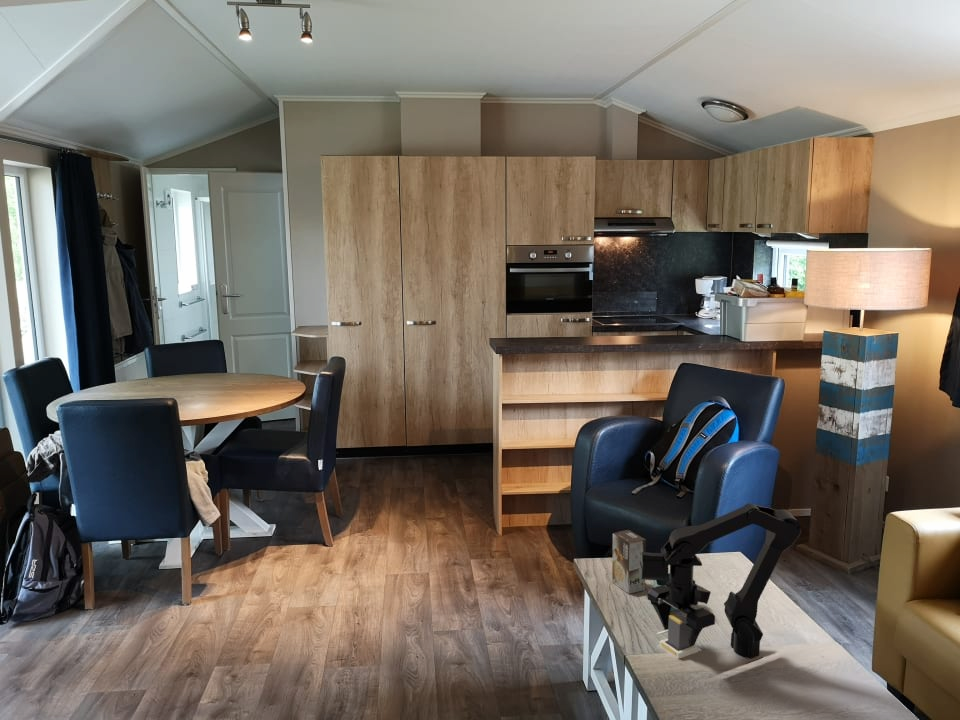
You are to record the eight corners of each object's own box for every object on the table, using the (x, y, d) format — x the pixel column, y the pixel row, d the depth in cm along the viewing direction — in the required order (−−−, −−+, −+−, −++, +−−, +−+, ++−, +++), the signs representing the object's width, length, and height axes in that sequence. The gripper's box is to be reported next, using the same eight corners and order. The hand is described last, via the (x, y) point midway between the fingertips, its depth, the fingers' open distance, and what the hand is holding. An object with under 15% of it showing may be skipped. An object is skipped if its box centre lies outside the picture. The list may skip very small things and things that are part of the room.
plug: (690, 650, 194) (691, 618, 193) (678, 654, 192) (679, 622, 191) (678, 642, 198) (679, 611, 196) (666, 646, 196) (668, 615, 194)
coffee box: (646, 590, 230) (647, 539, 227) (628, 594, 227) (629, 543, 225) (627, 578, 238) (629, 529, 235) (610, 582, 235) (611, 532, 233)
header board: (707, 652, 195) (707, 643, 195) (674, 664, 190) (675, 654, 190) (672, 630, 207) (672, 621, 206) (640, 640, 201) (640, 631, 201)
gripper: (732, 587, 188) (729, 646, 190) (679, 559, 204) (677, 614, 206) (698, 597, 182) (696, 658, 185) (646, 568, 199) (645, 624, 201)
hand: (679, 637), depth 195 cm, fingers open, 9 cm apart
